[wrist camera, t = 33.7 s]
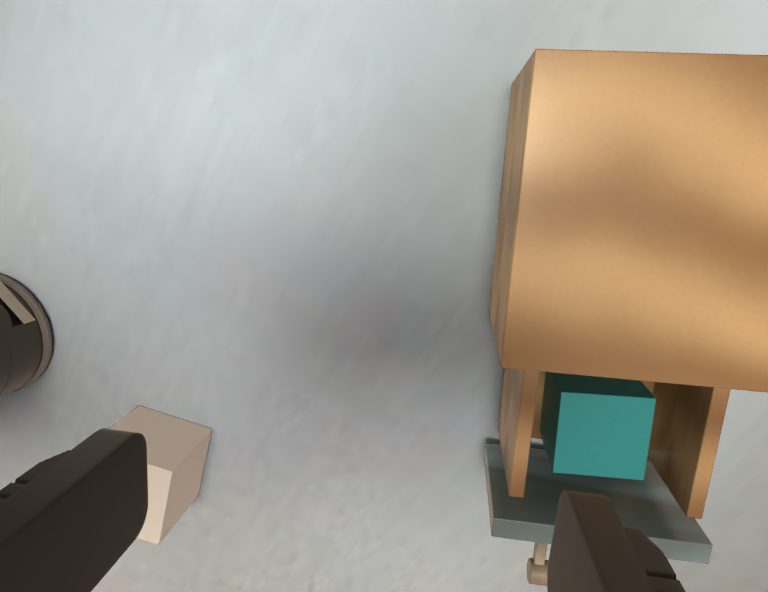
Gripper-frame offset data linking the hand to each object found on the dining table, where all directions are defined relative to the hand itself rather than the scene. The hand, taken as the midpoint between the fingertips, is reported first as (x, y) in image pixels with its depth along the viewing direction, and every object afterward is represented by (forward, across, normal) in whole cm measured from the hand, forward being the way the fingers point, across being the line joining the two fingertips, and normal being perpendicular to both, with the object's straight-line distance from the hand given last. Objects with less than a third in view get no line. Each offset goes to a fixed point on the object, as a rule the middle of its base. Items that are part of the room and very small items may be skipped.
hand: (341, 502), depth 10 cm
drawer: (+26, -11, +8) cm, 30 cm away
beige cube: (+28, +18, +16) cm, 37 cm away
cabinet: (+27, -11, -5) cm, 29 cm away
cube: (+25, -12, +7) cm, 28 cm away
